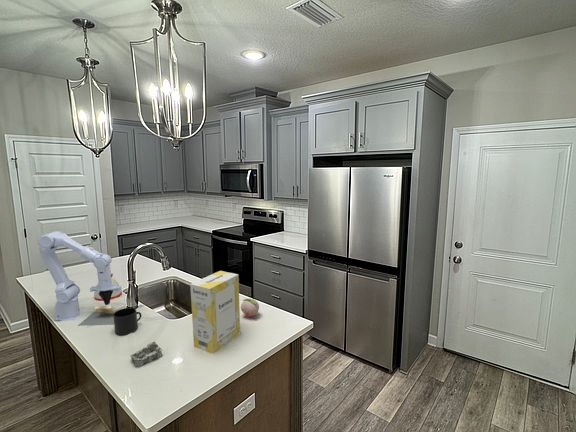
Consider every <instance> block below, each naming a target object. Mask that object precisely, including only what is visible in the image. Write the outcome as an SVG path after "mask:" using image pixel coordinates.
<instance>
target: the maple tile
mask: <svg viewBox="0 0 576 432" xmlns="http://www.w3.org/2000/svg"><path fill="white" fill-rule="evenodd" d="M93 309H94V310H95V312H98V313H99V314H100V315H109V314H114V313H115V312H116V311H117V310H116V308H114V307H113V305H103V306H102V305H101V306H99V305H98V306H97V305H95V306H94V308H93Z"/></svg>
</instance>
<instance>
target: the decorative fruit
mask: <svg viewBox="0 0 576 432" xmlns="http://www.w3.org/2000/svg"><path fill="white" fill-rule="evenodd" d="M259 309H260V304H259V302H258V300H256V299H253V298H244V299H242V302H241V305H240V310H241V312H242V313H243V315H245V316H247V317H251V318H252V317H254V316H256V315H257V314H258V312H259Z"/></svg>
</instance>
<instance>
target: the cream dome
mask: <svg viewBox="0 0 576 432" xmlns="http://www.w3.org/2000/svg"><path fill="white" fill-rule="evenodd" d="M113 275H114V273H111V280H112V285H115V286H120V284H119V283H118V281H117V280H116V279H115V278H113ZM95 286H99V283H96V284H95ZM99 293H100V291H94V294H93V296H94V300H95V301H97V302H104V301H103V299H102V298H101V297H100V296H99ZM122 293H123V290H121V291H113V293H112V295H111V299H110V301H111V300H114V299H117V298H120V297H121V296H122V295H123V294H122Z"/></svg>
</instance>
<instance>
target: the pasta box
mask: <svg viewBox="0 0 576 432" xmlns="http://www.w3.org/2000/svg"><path fill="white" fill-rule="evenodd" d="M239 276H240V275H239V274H238V273H234V272H227V271H223V270H219V271H216V272H214V273H211V274H210V275H207V276H205V277H203V278H201V279H198V280H196V281H194V282H192V283H190V284H189V286H190V300H191V301H190V302H191V318H192V319H191V320H192V321H191V322H192V335H193V336H192V337H193V347H194V348H196V349H199V350H202V351H204V352H206V353H209V354H212V355H214V354H215V353H216V352H218V351H219V350H220V349H221V348H222V347H224V346H225V345H227V343H229V342H230V341H232V340H233V339H234V338H235V337H237V336H238V335H239V334H240V333H241V313H240V312H241V311H240V310H241V306H240V282H239V281H240V278H239Z"/></svg>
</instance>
